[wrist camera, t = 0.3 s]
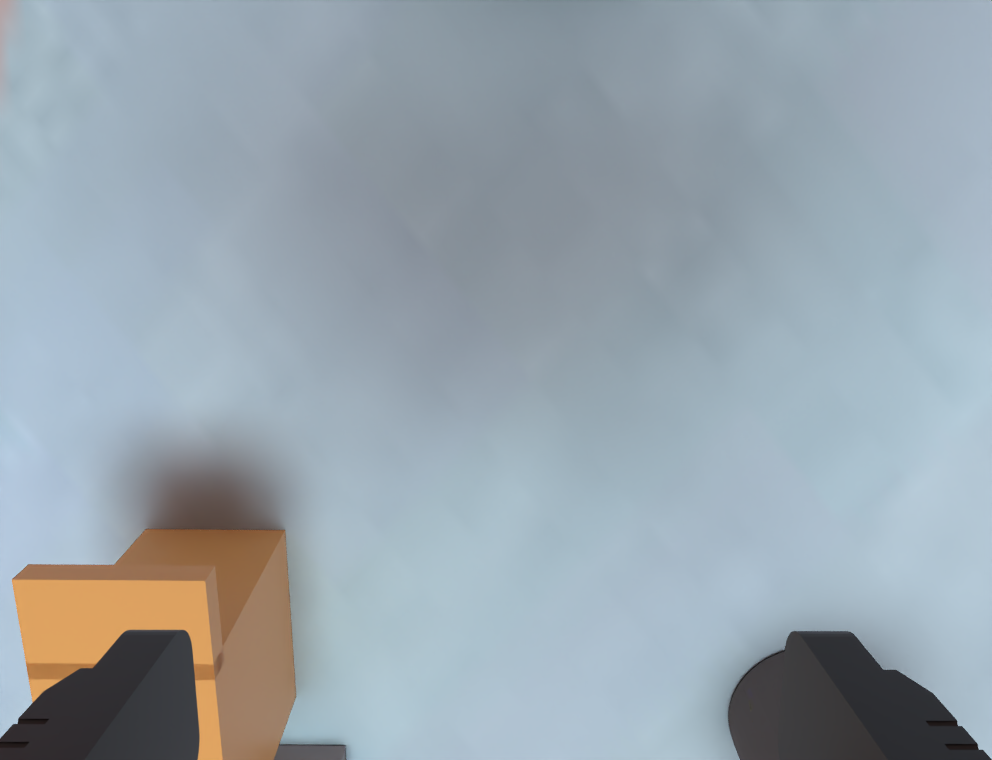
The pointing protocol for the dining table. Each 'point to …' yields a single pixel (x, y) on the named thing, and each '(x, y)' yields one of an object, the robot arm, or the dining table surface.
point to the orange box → (179, 625)
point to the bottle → (758, 711)
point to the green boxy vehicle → (310, 752)
